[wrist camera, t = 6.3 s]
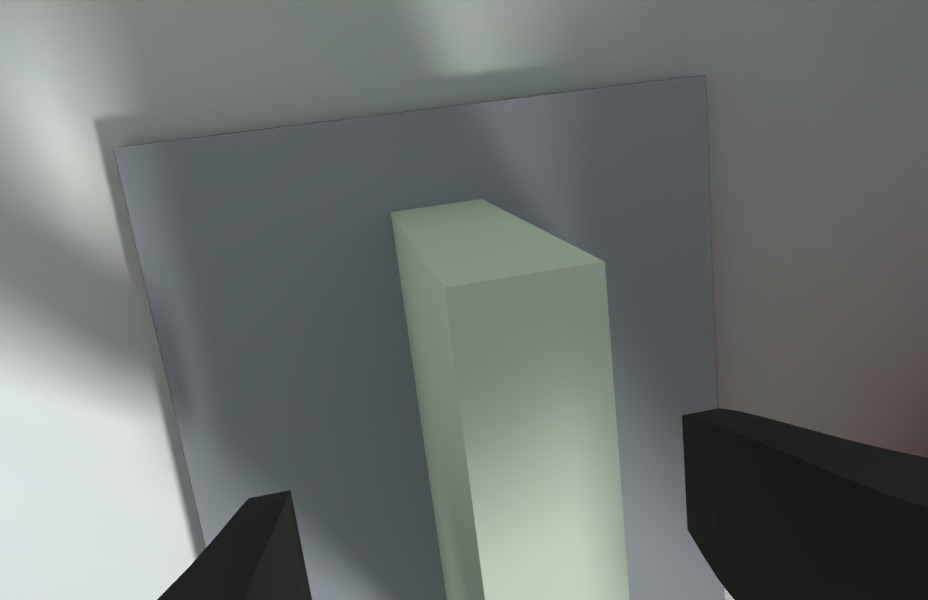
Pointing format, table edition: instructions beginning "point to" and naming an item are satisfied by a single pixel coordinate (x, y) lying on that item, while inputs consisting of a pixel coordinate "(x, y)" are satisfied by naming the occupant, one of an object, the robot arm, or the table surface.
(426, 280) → the sage board
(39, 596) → the table surface
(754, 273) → the table surface
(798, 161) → the table surface
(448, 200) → the slate mat
